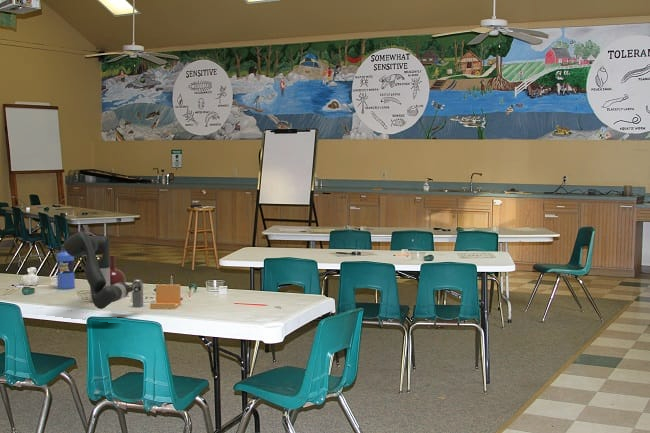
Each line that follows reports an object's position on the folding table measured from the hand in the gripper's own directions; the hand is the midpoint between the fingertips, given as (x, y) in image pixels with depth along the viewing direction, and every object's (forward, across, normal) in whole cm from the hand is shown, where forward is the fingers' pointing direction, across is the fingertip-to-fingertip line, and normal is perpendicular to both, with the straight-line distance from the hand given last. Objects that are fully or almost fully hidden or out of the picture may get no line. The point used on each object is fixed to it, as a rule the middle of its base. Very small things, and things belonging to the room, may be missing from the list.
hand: (129, 286), depth 385 cm
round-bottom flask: (+47, +25, +11) cm, 54 cm away
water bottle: (+60, +57, +11) cm, 84 cm away
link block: (+12, 0, +12) cm, 17 cm away
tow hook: (+30, -13, +12) cm, 34 cm away
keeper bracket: (+11, -14, +12) cm, 21 cm away
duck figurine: (+70, +82, +11) cm, 109 cm away
